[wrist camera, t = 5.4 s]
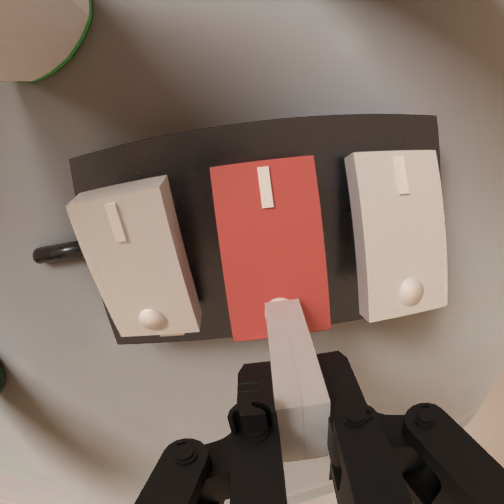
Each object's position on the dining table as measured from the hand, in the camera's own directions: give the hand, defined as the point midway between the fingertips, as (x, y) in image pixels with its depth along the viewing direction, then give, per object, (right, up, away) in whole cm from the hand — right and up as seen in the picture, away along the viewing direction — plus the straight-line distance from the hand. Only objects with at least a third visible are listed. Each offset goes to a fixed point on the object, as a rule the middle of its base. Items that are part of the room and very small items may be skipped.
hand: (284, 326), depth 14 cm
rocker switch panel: (-4, +5, +6) cm, 9 cm away
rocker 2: (-1, +4, +1) cm, 4 cm away
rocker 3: (+6, +4, 0) cm, 7 cm away
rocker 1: (-7, +3, +1) cm, 8 cm away
